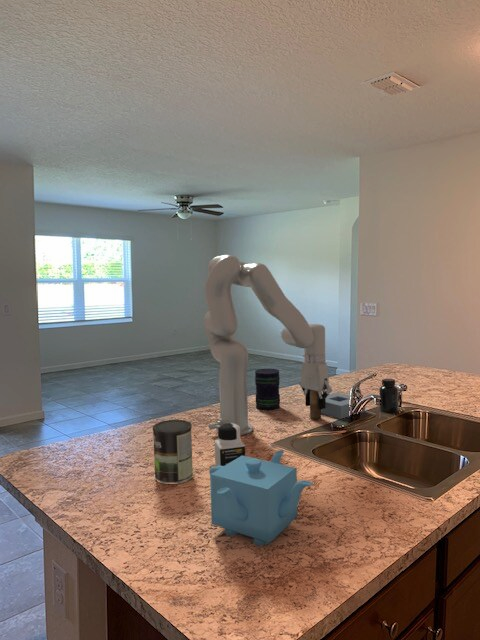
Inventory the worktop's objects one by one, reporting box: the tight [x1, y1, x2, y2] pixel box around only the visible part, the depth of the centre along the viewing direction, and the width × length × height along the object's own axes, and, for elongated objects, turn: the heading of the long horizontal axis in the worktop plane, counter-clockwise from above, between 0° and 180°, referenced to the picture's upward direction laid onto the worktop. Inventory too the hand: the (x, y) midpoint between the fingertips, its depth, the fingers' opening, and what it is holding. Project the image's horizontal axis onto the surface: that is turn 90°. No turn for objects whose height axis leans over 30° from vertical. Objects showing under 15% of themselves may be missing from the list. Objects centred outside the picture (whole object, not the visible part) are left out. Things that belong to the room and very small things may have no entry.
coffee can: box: [152, 419, 194, 484], centre depth 125 cm, size 10×10×14 cm
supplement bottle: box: [379, 378, 399, 413], centre depth 180 cm, size 7×7×12 cm
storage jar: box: [254, 368, 281, 412], centre depth 188 cm, size 10×10×15 cm
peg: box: [309, 390, 322, 421], centre depth 172 cm, size 4×4×12 cm
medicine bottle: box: [214, 423, 246, 466], centre depth 131 cm, size 7×7×12 cm
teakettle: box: [209, 449, 314, 547], centre depth 98 cm, size 19×19×15 cm
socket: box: [321, 392, 366, 420], centre depth 181 cm, size 14×14×5 cm
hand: (315, 406), depth 173 cm, fingers open, 5 cm apart
